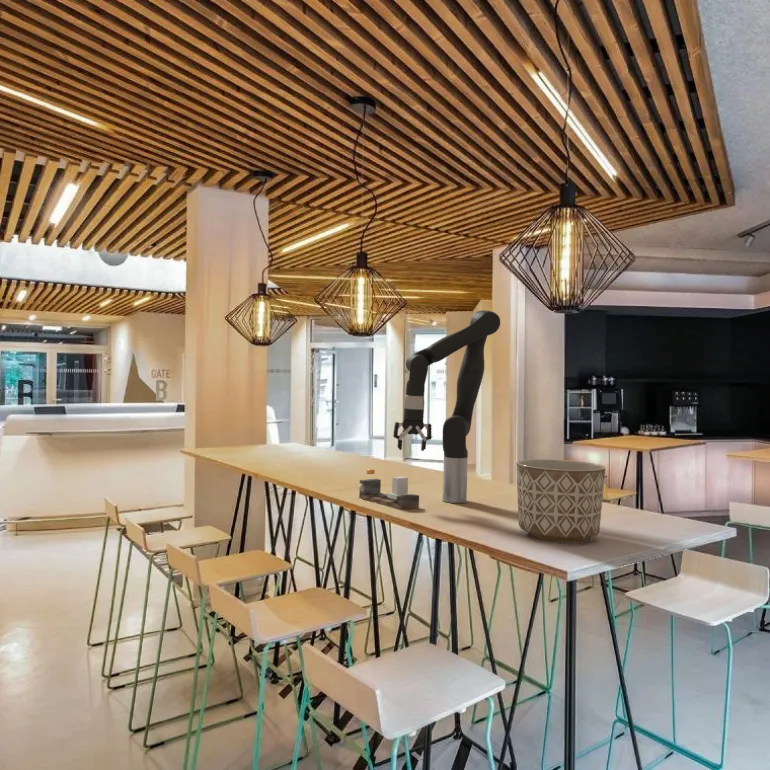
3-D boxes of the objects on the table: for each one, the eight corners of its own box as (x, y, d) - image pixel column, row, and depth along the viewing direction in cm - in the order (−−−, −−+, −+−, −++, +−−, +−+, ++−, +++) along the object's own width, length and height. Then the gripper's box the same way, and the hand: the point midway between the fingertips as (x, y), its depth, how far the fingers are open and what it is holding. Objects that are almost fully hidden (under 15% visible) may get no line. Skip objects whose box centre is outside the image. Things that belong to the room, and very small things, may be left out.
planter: (617, 537, 191) (619, 465, 191) (580, 552, 171) (582, 473, 171) (539, 522, 208) (541, 457, 208) (498, 535, 189) (500, 463, 189)
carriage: (387, 497, 231) (387, 477, 231) (402, 495, 235) (402, 475, 235) (397, 499, 226) (397, 479, 226) (412, 498, 231) (412, 477, 231)
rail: (358, 497, 245) (359, 480, 245) (375, 496, 250) (376, 478, 250) (400, 510, 223) (401, 490, 223) (418, 507, 228) (419, 488, 228)
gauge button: (364, 473, 246) (364, 469, 246) (371, 472, 248) (371, 468, 248) (369, 474, 244) (369, 470, 244) (376, 473, 246) (376, 469, 246)
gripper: (397, 407, 231) (394, 451, 231) (434, 409, 233) (431, 452, 233) (394, 405, 238) (391, 447, 239) (430, 407, 240) (427, 449, 241)
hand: (411, 450), depth 236 cm, fingers open, 8 cm apart
